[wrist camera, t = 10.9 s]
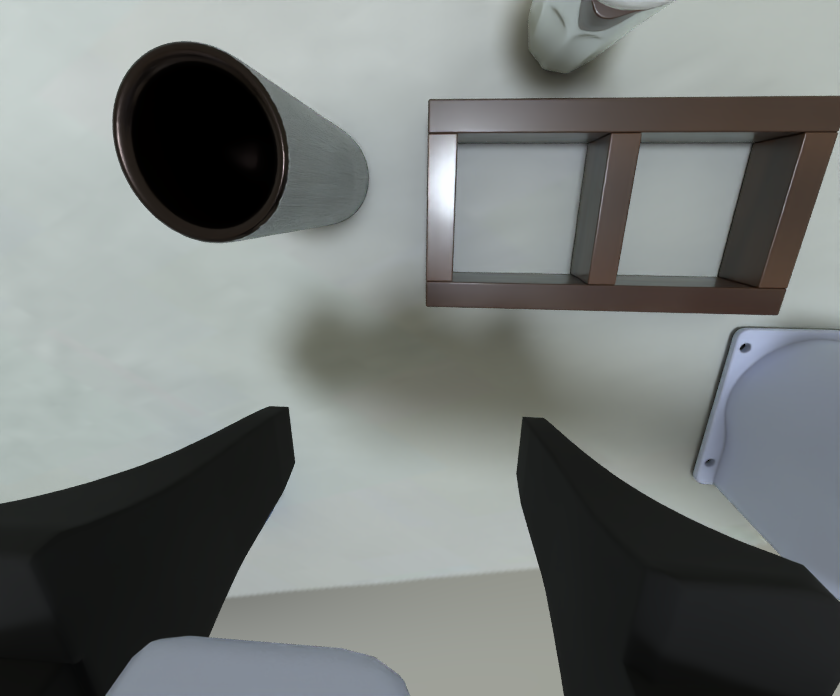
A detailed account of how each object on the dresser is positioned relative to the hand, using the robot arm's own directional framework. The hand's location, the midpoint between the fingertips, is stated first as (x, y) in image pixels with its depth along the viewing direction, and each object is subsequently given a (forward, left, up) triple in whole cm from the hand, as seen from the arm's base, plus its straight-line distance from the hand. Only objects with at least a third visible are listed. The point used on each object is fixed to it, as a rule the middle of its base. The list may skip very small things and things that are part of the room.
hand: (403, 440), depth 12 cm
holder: (+6, -8, -10) cm, 15 cm away
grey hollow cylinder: (+8, +5, -11) cm, 14 cm away
